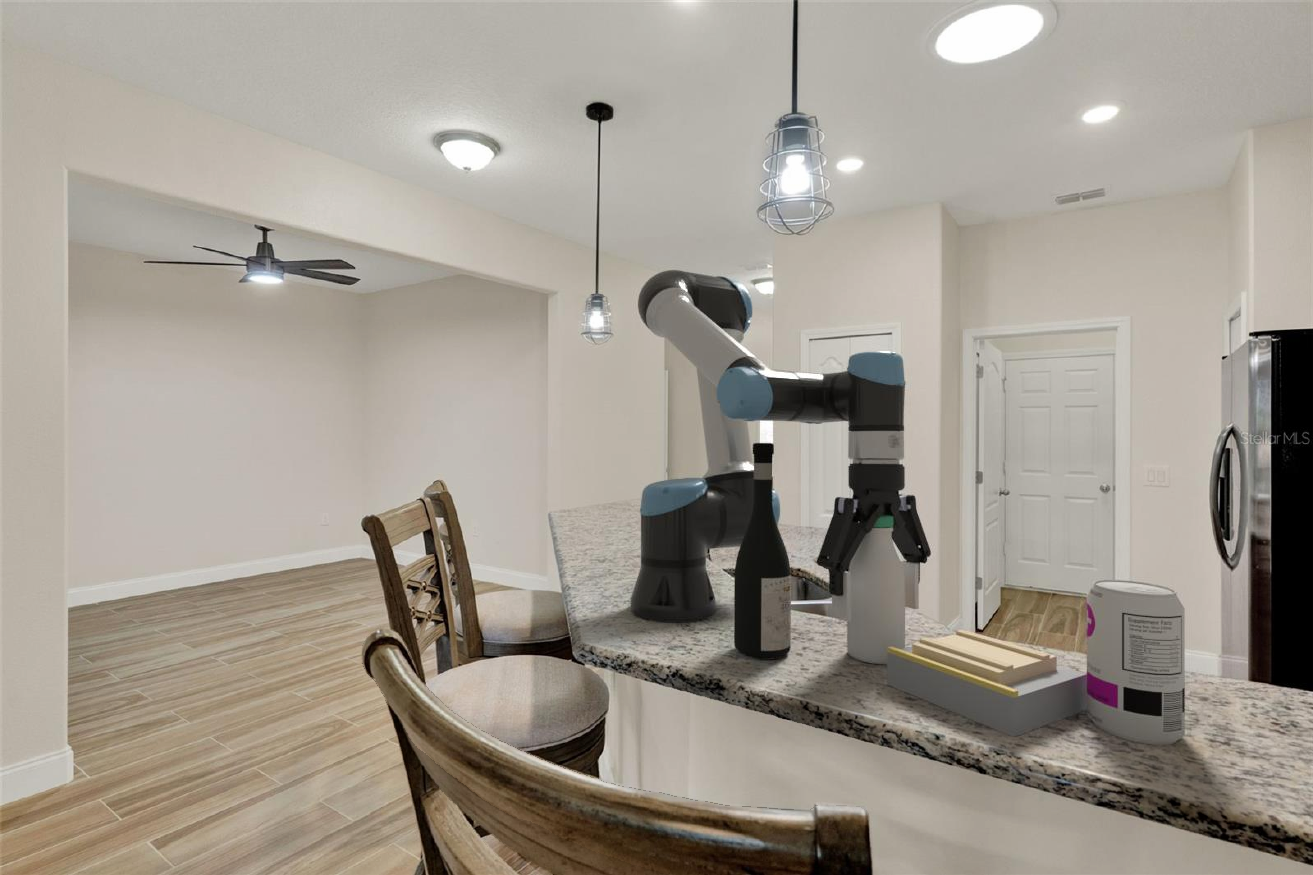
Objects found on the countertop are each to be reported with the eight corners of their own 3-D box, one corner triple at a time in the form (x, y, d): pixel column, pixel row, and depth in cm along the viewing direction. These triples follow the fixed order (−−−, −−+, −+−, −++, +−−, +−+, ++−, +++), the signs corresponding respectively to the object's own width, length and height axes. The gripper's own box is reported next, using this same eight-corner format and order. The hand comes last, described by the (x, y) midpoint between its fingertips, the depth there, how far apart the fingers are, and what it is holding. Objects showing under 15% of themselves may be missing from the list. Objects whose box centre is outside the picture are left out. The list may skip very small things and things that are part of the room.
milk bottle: (909, 668, 84) (910, 518, 84) (849, 663, 86) (850, 516, 86) (899, 649, 92) (899, 512, 92) (844, 646, 93) (845, 510, 93)
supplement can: (1074, 725, 67) (1074, 584, 67) (1102, 706, 72) (1102, 575, 72) (1170, 756, 60) (1170, 600, 61) (1194, 733, 65) (1193, 588, 66)
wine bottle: (800, 651, 90) (801, 443, 91) (772, 666, 84) (774, 442, 85) (752, 639, 96) (753, 442, 96) (723, 652, 90) (724, 442, 90)
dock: (887, 684, 78) (887, 636, 78) (958, 665, 85) (958, 622, 85) (1013, 737, 64) (1013, 679, 64) (1087, 709, 71) (1087, 657, 71)
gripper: (830, 463, 80) (830, 631, 79) (956, 461, 92) (957, 608, 91) (790, 462, 86) (790, 617, 86) (913, 460, 98) (913, 597, 98)
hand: (876, 613), depth 89 cm, fingers open, 13 cm apart
